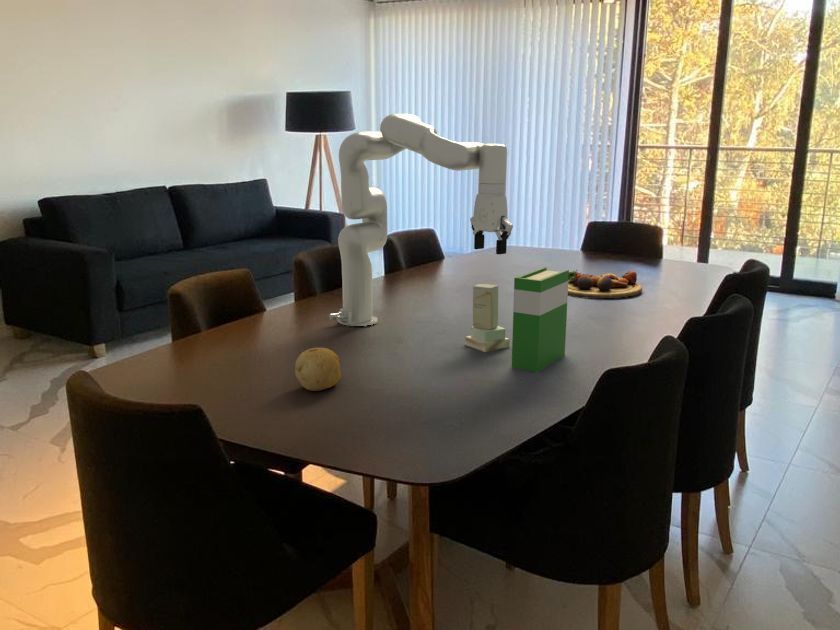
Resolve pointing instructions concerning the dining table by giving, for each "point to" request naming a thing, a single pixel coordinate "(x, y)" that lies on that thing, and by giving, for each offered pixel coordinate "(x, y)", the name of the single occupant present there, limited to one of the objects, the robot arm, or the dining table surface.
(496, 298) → the skincare box
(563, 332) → the hardback book
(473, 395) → the dining table surface
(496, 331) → the tower top
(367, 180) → the robot arm
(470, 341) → the tower base
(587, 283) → the wooden plate with food
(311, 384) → the potato
